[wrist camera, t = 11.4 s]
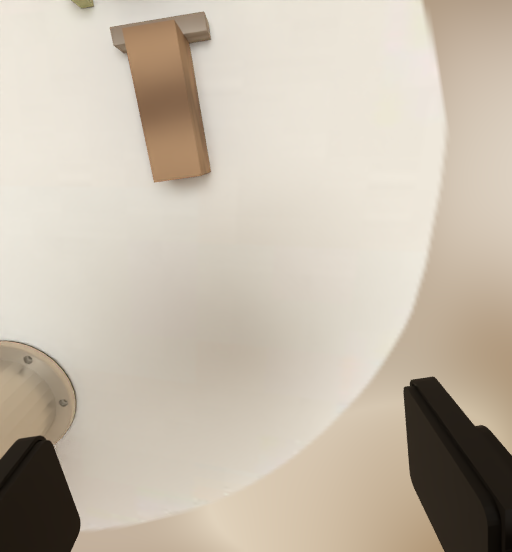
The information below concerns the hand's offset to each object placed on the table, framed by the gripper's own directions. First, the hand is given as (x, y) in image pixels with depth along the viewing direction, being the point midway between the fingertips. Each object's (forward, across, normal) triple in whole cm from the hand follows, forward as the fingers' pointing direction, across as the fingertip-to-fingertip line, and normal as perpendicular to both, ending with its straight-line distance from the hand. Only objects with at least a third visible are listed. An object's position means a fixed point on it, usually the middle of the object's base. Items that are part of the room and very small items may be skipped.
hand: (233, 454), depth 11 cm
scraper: (+28, +4, -12) cm, 30 cm away
